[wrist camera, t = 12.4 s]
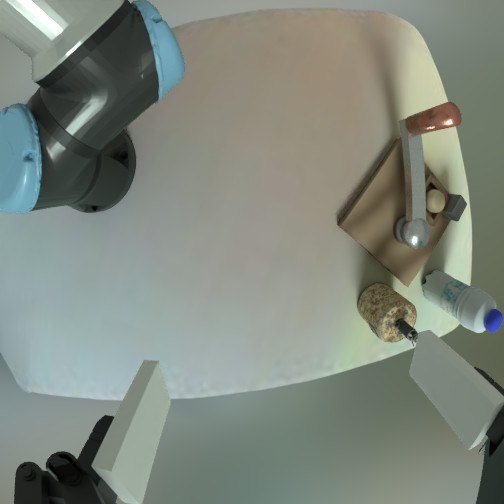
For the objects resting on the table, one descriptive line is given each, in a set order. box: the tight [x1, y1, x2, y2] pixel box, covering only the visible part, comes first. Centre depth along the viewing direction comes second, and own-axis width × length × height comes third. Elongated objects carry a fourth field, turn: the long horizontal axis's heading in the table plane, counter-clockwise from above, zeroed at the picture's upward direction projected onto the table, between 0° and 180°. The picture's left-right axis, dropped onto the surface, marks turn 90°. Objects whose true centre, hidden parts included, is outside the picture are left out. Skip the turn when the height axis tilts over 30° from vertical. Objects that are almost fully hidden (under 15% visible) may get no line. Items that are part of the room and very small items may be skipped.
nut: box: [426, 189, 445, 213], centre depth 38 cm, size 4×4×4 cm
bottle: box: [422, 271, 502, 333], centre depth 36 cm, size 7×7×20 cm
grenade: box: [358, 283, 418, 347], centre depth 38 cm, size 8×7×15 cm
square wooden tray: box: [338, 138, 467, 287], centre depth 40 cm, size 18×19×6 cm
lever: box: [399, 102, 461, 249], centre depth 31 cm, size 21×5×12 cm, turn 4°
